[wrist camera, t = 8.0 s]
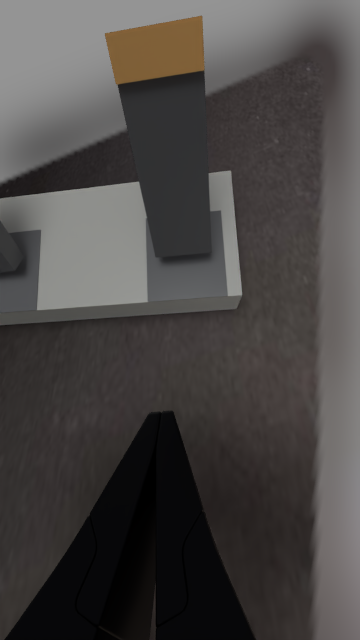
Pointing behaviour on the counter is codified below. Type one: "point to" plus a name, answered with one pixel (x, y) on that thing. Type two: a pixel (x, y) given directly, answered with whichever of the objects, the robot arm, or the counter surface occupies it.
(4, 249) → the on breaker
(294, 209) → the counter surface
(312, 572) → the counter surface
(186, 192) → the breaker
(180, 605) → the robot arm
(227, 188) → the grey mounting base
